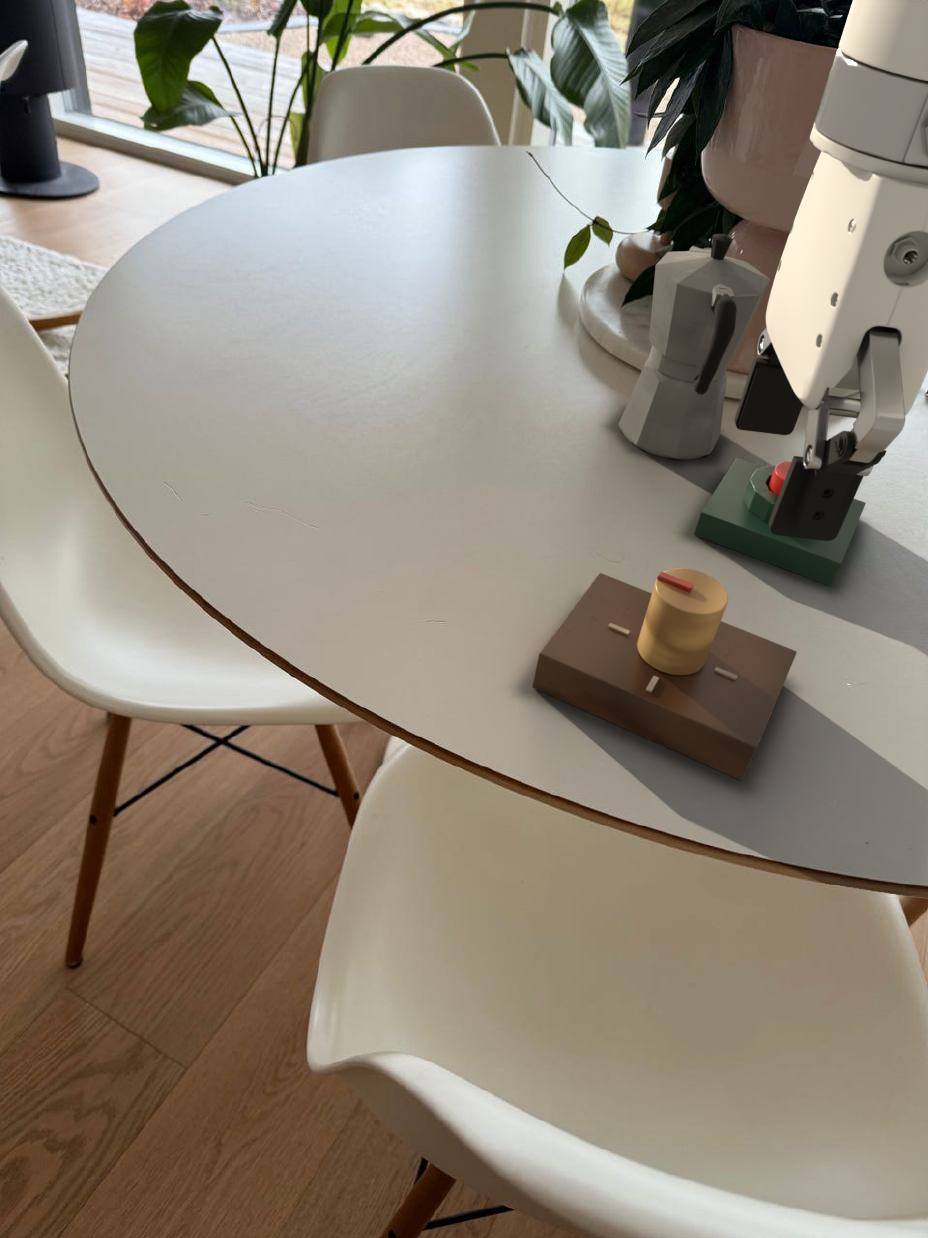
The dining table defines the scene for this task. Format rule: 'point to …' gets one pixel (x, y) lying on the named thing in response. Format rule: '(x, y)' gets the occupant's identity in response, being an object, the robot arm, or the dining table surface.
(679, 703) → the panel
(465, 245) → the dining table surface
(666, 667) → the dial
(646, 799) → the dining table surface
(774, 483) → the button
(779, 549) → the button box
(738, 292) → the coffeepot
